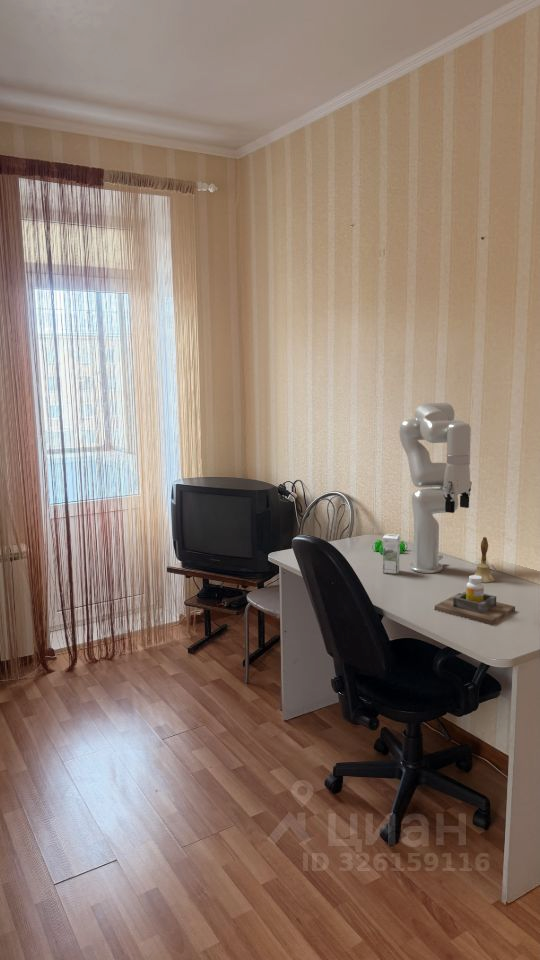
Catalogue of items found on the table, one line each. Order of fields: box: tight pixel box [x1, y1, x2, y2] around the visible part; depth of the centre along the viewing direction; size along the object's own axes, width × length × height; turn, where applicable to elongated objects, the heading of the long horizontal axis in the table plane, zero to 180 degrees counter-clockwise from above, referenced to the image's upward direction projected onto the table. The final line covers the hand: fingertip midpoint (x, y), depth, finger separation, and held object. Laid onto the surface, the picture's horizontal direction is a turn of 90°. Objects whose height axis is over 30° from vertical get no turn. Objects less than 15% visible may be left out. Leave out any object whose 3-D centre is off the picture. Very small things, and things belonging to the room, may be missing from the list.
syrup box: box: [382, 533, 401, 575], centre depth 267 cm, size 6×6×14 cm
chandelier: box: [371, 539, 408, 555], centre depth 296 cm, size 15×15×7 cm
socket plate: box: [434, 591, 516, 626], centre depth 225 cm, size 16×20×4 cm
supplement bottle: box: [465, 574, 485, 603], centre depth 225 cm, size 5×5×10 cm
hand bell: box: [473, 536, 496, 584], centre depth 255 cm, size 8×8×16 cm
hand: (457, 509), depth 235 cm, fingers open, 9 cm apart
